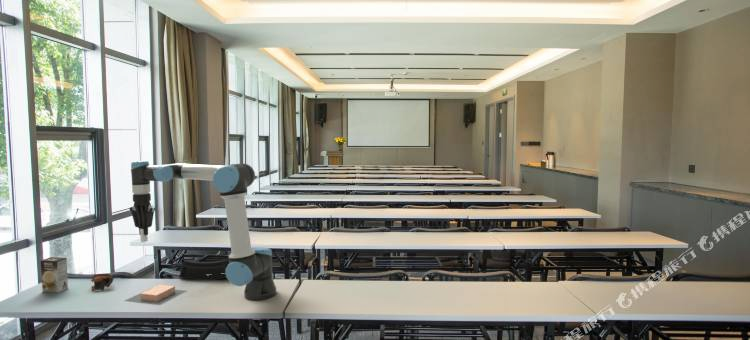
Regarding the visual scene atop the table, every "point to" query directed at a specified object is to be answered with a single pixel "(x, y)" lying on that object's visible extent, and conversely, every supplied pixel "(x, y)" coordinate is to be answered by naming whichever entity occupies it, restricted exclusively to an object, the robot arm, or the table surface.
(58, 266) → the coffee box
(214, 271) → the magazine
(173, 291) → the board
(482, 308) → the table surface
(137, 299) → the mat
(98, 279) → the pottery mug
